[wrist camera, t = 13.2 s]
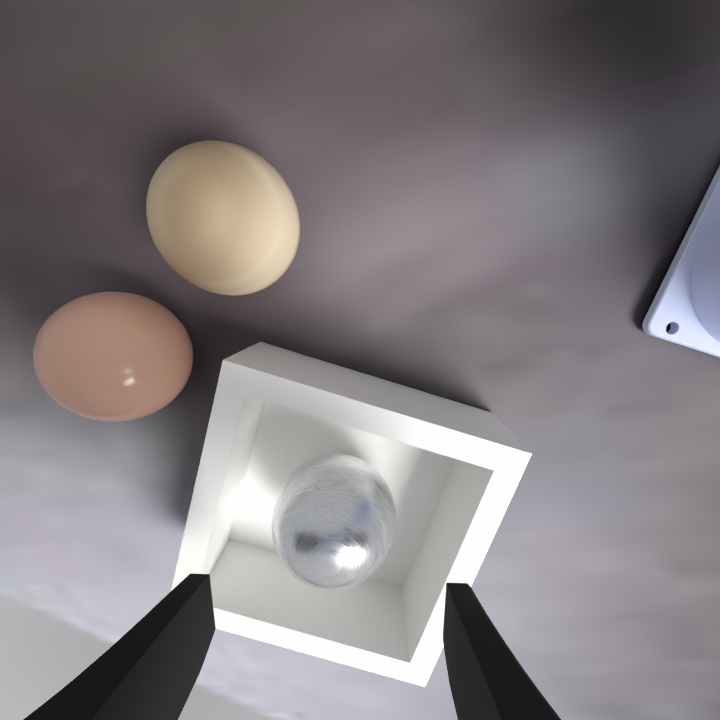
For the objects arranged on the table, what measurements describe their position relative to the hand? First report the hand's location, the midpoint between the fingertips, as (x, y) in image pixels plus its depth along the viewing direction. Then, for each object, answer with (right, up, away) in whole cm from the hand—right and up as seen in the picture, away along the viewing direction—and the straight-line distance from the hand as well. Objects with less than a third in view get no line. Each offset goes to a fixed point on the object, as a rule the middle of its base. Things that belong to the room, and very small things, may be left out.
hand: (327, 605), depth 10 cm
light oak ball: (-4, +13, +4) cm, 14 cm away
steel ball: (0, +2, +6) cm, 6 cm away
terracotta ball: (-8, +8, +5) cm, 13 cm away
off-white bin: (0, +1, +7) cm, 7 cm away
